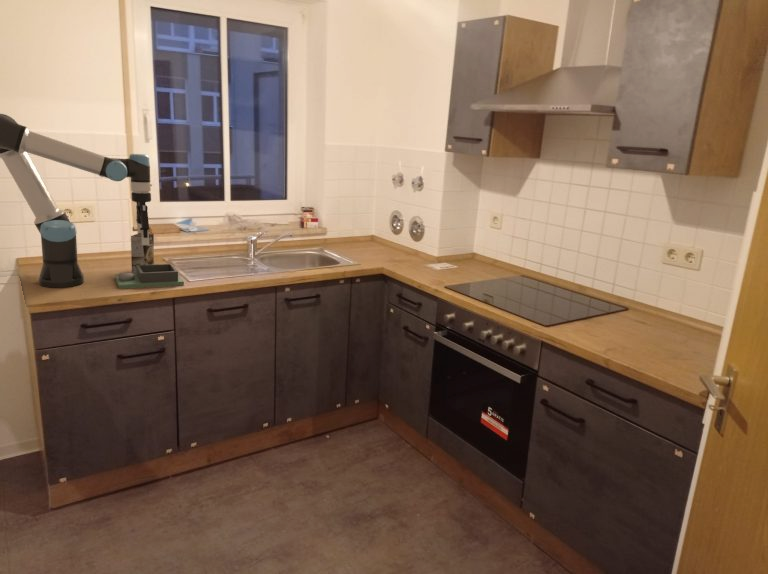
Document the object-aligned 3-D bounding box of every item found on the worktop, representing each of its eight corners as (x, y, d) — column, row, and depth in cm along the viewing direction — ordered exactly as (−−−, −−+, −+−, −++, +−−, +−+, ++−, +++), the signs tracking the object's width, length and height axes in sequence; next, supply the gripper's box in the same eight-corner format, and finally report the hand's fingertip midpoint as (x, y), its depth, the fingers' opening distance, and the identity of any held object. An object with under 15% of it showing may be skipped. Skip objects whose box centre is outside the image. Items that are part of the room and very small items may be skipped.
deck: (119, 288, 220) (118, 274, 218) (115, 278, 233) (114, 265, 232) (183, 285, 232) (183, 272, 230) (176, 275, 245) (176, 263, 244)
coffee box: (146, 274, 243) (145, 237, 239) (131, 273, 243) (129, 235, 239) (155, 269, 252) (154, 233, 248) (140, 268, 252) (139, 232, 248)
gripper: (155, 195, 230) (157, 247, 236) (146, 188, 251) (148, 236, 257) (135, 195, 227) (137, 248, 232) (128, 188, 247) (130, 236, 253)
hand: (143, 241), depth 244 cm, fingers open, 13 cm apart
